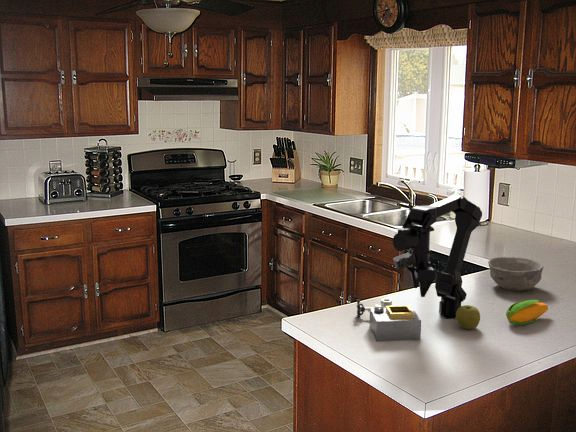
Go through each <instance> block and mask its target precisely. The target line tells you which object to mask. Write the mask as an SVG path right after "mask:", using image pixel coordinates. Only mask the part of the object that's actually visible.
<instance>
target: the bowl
mask: <svg viewBox="0 0 576 432" xmlns="http://www.w3.org/2000/svg"><path fill="white" fill-rule="evenodd" d="M487 263H488V267H489V274H490V278H491V279H492V280H493V282H495V284H497V286H499V287H501V288H502V289H504V290H506V291H507V290H508V291H510V292H511V291H512V292H524V291H528V290H530V289H531V290H532V289H533V288H534V287H536V285H537V284H539V283H540V281H541V280H542V273H543V271H544V264H542V263H541V262H539V261H537V260H534V259H531V258H526V257H525V258H524V257H523V258H522V257H516V256H513V257H512V256H511V257H510V256H500V257H494V258H491V259H489V260H488V261H487Z"/></svg>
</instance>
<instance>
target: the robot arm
mask: <svg viewBox="0 0 576 432" xmlns="http://www.w3.org/2000/svg"><path fill="white" fill-rule="evenodd" d="M449 213H453V214H454V215H455V216H454V223H455V225H456V229H455V230H456V231H455V234H454V238H453V240H452V245H451V248H450V251H449V255H448V259H447V263H446V266H445V268H444V269H443V270H442V271H438V272H437V271H436V270H435V269H434V268H433V267H432V266H431V264H432V263H431V261H430V254H431V255H432V250H431V249H430V248H431V247H430V243H431V242H430V240H431V239H430V237H431V232H434V231H435V228H434V227H433V226H432V225H434V223H436V222H437V220H438V219H439V218H440V217H442V216H444V215H447V214H449ZM482 216H483V211H482V210H481V208H480V206H477V205H476V204H475V203H473V202H471V201H470V200H468V199H467V198H466V197H465V196H463V195H456V194H451V195H449V197H447V198H444V199H442V200H439V201H437V202H435V203H432V204H430V205H417V206H413V207H412V208H411V209H410V210H409V212H408V214H407V216H406V219H405V220H404V222H403V224H402V227H401V228H399V229H397V232H396V233H395V234H394V235H393V238H392V245H393V248H394V249H395V250H396V251H398V252H403V251H404V252H405V251H407V250H408V252H406V253H402V254H400V255H397V256H395V257H393V258H392V261H393V262H394V266H395V268H396V269H397V270H398V271H401V270H403V269H405V268H406V269H407V270H408V271H409V272H410V277H411V282H412V287H413V289H418V288H419V292H420V293H419V294H420V297H421V298H425V296H426V295H427V293H428V291H429V289H430V288H431V286H432V284H433V282H434V283H435V285H434V289H435V292H436V296H437V297H438V298H440V301H439V303H438V304H439V306H438V313H439V314H440V315H441V316H442V318H444V319H456V311H457V309H458V308H459V307H460V306H462V303H463V302H464V301H465V300H466V298H467V295H468V294H467V292H466V291H465V289H464V288H463V286H462V285H463V278H462V273H461V270H462V267H463V263H464V259H465V256H466V252H467V248H468V245H469V243H470V238H471V235H472V232H474V231H475V229H476V228H478V227H479V224H480V222H481V219H482V218H483V217H482Z"/></svg>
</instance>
